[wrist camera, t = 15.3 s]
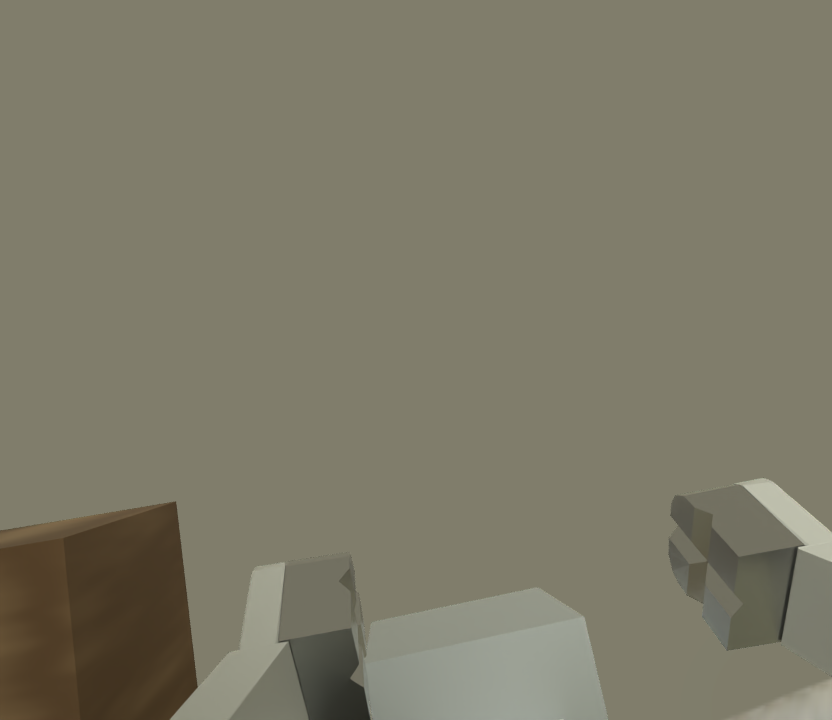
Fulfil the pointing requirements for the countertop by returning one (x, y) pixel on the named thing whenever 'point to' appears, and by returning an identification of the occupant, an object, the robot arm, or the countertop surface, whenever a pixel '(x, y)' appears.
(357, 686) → the robot arm
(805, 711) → the countertop surface
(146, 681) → the walnut block
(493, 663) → the white long block
